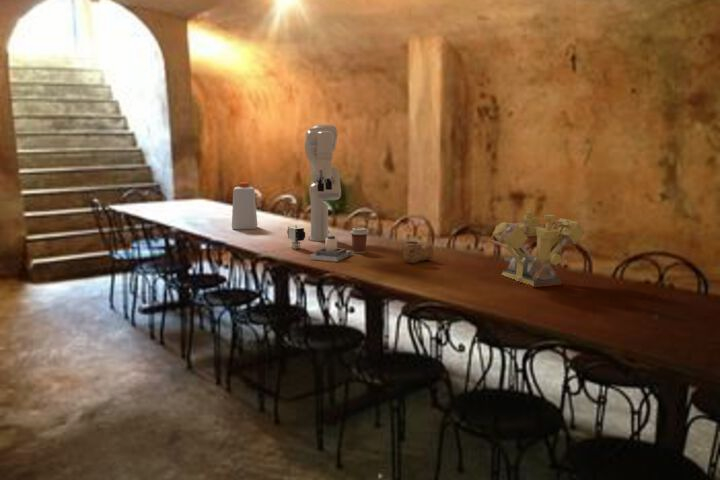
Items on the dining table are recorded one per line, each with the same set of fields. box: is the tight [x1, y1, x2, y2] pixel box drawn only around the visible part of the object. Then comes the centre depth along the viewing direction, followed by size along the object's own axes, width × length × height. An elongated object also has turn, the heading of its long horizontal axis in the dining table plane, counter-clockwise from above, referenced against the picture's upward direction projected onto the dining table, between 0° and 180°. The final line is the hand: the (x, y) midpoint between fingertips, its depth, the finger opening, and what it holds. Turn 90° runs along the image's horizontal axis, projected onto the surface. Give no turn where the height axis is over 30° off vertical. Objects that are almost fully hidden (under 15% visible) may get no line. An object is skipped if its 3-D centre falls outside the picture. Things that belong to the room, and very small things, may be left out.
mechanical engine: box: [488, 207, 586, 286], centre depth 252 cm, size 39×37×30 cm
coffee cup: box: [349, 227, 369, 254], centre depth 309 cm, size 9×9×12 cm
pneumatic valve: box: [286, 224, 306, 250], centre depth 317 cm, size 6×12×12 cm, turn 33°
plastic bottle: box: [231, 181, 258, 231], centre depth 376 cm, size 15×15×28 cm
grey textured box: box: [402, 240, 435, 264], centre depth 287 cm, size 9×16×10 cm, turn 132°
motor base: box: [309, 247, 352, 263], centre depth 297 cm, size 18×14×4 cm
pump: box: [324, 235, 338, 252], centre depth 296 cm, size 6×6×8 cm
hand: (324, 190), depth 311 cm, fingers open, 9 cm apart
